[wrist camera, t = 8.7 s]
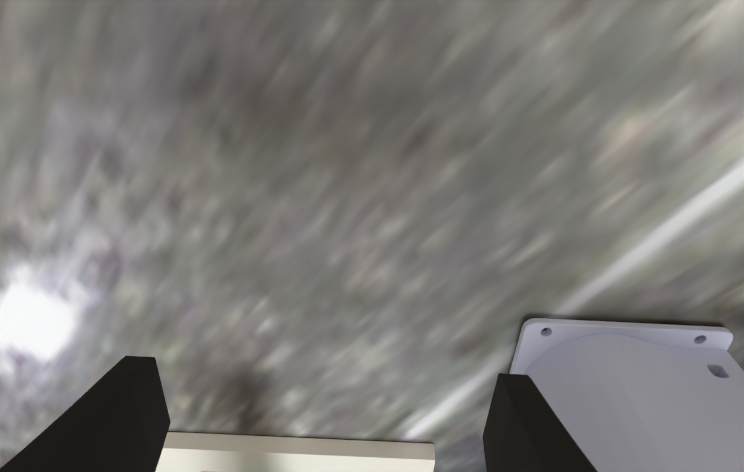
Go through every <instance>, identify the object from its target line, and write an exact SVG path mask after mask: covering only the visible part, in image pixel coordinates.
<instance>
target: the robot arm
mask: <svg viewBox="0 0 744 472" xmlns="http://www.w3.org/2000/svg"><path fill="white" fill-rule="evenodd" d="M544 328H549V329H547V330H544V331H542V329H544ZM698 336H699V337H698ZM696 337H697V338H696ZM732 340H733V334H732V333H731V332H730V331H729V330H728V329H727V328H724V327H709V326H688V325H668V324H647V323H627V322H606V321H585V320H565V319H544V318H532V319H529V320H527V321H526V322H524V324H523V326H522V329H521V333H520V337H519V340H518V344H517V348H516V351H515V355H514V359H513V362H512V366H511V370H510V373H509V374H500V373H499V375H498V379H497V383H496V387H495V390H494V394H493V398H492V402H491V406H490V410H489V414H488V418H487V421H486V425H485V429H484V433H483V443H484V452H485V461H486V469H487V472H744V371H743V370H742V369H741V367H740V366H739V365H738V364H737V362H736V361H735V360H734V359H733V358H732V356H731V355H730V354H729V353H728V351H727V349H728V347H729V346H730V344H731V342H732ZM169 426H170V418H169V414H168V410H167V406H166V402H165V397H164V393H163V389H162V385H161V381H160V377H159V372H158V368H157V364H156V360H155V357H138V356H125V357H124V358H123V359H121V360H120V361H119V362H118V363H117V364H116V365H115V366H114V367H113V368H112V369H110V370H109V371H108V372H107V373H106V374H105V375H104V376H103V377H102V378H101V379H100V380H99V381H98V382H97V383H95V384H94V385H93V386H92V387H91V388H90V389H89V390H88V391H87V392H86V393H85V394H84V395H83V396H82V397H81V398H79V399H78V400H77V401H76V402H75V403H74V404H73V405H72V406H71V407H70V408H69V409H68V410H67V411H65V412H64V413H63V414H62V415H61V416H60V417H59V418H58V419H57V420H55V421H54V422H53V423H52V424H51V425H50V426H49V427H48V428H47V429H45V430H44V431H43V432H42V433H41V434H40V435H39V436H38V437H37V438H35V439H34V440H33V441H32V442H31V443H30V444H29V445H28V446H26V447H25V448H24V449H23V450H22V451H21V452H19V453H18V454H17V455H16V456H15V457H13V458H12V459H11V460H10V461H9V462H7V463H6V464H5V465H4V466H3V467H1V468H0V472H155V471H156V468H157V465H158V462H159V459H160V456H161V452H162V449H163V446H164V443H165V439H166V436H167V432H168V429H169Z"/></svg>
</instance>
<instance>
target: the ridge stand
mask: <svg viewBox="0 0 744 472" xmlns="http://www.w3.org/2000/svg"><path fill="white" fill-rule="evenodd" d="M434 464H435V453H434V444H427V443H404V442H382V441H360V440H337V439H315V438H292V437H270V436H248V435H225V434H203V433H181V432H167V436H166V439H165V443H164V446H163V449H162V452H161V456H160V459H159V462H158V465H157V468H156V471H155V472H201V471H216V472H433V469H434Z"/></svg>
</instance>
